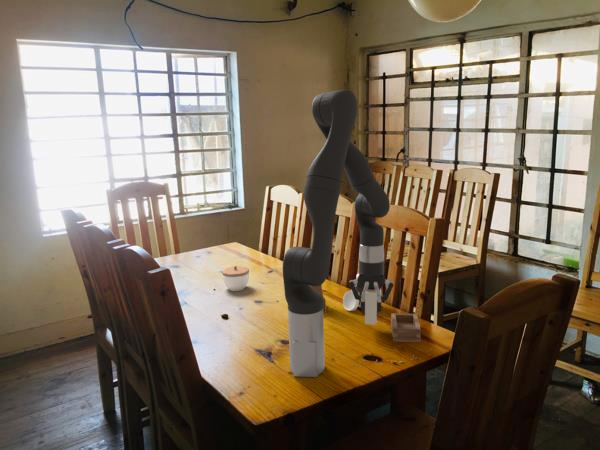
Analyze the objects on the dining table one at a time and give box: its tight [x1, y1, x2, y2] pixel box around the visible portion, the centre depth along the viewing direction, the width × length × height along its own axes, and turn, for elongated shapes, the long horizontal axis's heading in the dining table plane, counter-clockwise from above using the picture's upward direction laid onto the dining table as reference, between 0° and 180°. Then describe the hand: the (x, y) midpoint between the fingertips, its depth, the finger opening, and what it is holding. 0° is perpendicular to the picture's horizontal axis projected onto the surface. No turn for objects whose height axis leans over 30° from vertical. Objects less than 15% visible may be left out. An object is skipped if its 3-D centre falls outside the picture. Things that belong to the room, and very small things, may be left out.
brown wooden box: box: [390, 312, 422, 343], centre depth 149 cm, size 12×8×4 cm, turn 172°
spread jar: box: [342, 273, 382, 312], centre depth 169 cm, size 12×11×12 cm
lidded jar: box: [221, 265, 250, 292], centre depth 194 cm, size 11×11×9 cm
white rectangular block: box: [364, 289, 378, 325], centre depth 149 cm, size 8×4×10 cm, turn 172°
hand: (370, 312), depth 150 cm, fingers closed on white rectangular block, 3 cm apart
